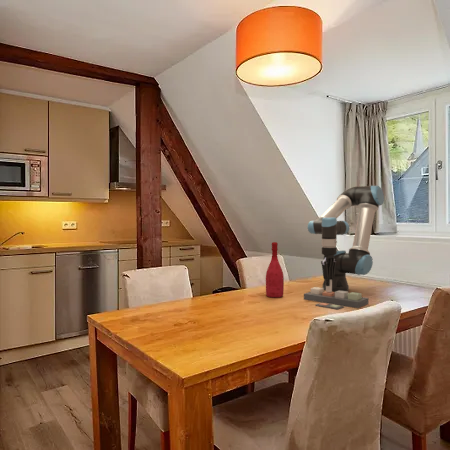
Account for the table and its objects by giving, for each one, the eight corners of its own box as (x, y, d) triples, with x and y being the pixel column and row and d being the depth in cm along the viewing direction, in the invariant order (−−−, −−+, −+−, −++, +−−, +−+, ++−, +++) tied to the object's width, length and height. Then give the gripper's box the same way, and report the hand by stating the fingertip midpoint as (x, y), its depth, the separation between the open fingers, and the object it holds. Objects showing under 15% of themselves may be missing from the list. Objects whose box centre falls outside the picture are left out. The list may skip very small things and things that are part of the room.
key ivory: (310, 294, 210) (310, 288, 210) (315, 292, 214) (315, 287, 214) (318, 295, 207) (318, 289, 207) (323, 294, 210) (323, 288, 210)
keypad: (303, 299, 209) (303, 293, 209) (315, 295, 218) (315, 290, 218) (358, 308, 189) (358, 302, 189) (368, 303, 198) (368, 298, 197)
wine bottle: (283, 294, 221) (283, 241, 220) (284, 298, 211) (284, 242, 211) (265, 294, 222) (265, 241, 221) (265, 298, 212) (265, 242, 212)
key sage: (347, 300, 196) (347, 293, 196) (352, 298, 200) (352, 292, 200) (357, 301, 193) (357, 295, 192) (361, 299, 196) (361, 293, 196)
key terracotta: (322, 298, 205) (322, 292, 205) (326, 296, 209) (327, 291, 209) (331, 299, 202) (331, 293, 202) (335, 298, 206) (335, 292, 206)
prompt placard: (315, 305, 194) (315, 304, 194) (321, 303, 199) (321, 301, 199) (337, 309, 186) (337, 307, 186) (343, 307, 191) (343, 305, 191)
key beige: (334, 298, 201) (334, 291, 201) (339, 296, 204) (339, 290, 204) (343, 299, 197) (343, 293, 197) (348, 297, 201) (348, 291, 201)
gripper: (329, 248, 197) (329, 294, 198) (341, 246, 207) (341, 291, 208) (316, 247, 202) (316, 292, 203) (328, 245, 212) (328, 289, 213)
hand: (328, 291), depth 205 cm, fingers closed
